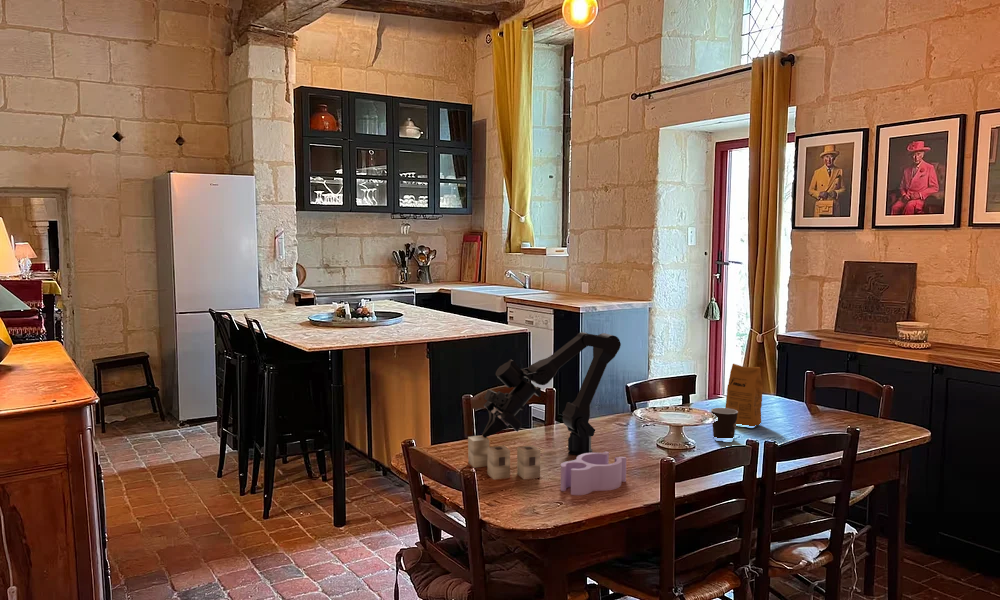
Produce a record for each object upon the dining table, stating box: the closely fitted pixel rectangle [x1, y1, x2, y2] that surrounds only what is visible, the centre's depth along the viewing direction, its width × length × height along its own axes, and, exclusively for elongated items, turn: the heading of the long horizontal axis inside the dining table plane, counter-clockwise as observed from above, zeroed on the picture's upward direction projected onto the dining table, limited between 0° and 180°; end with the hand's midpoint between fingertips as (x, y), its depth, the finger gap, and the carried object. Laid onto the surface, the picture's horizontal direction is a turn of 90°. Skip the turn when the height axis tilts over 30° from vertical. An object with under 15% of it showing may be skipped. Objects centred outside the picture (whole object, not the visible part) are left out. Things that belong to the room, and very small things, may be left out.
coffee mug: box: [710, 407, 738, 438], centre depth 251 cm, size 12×9×10 cm
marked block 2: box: [516, 444, 541, 480], centre depth 212 cm, size 5×5×8 cm
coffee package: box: [724, 363, 764, 426], centre depth 269 cm, size 10×12×22 cm
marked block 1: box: [486, 445, 511, 480], centre depth 212 cm, size 5×5×8 cm
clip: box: [560, 451, 627, 496], centre depth 205 cm, size 20×12×7 cm, turn 130°
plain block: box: [467, 434, 490, 469], centre depth 222 cm, size 5×5×8 cm
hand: (483, 436), depth 222 cm, fingers closed, pressing on plain block
